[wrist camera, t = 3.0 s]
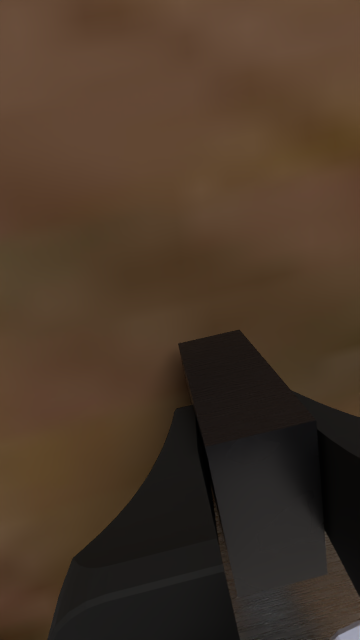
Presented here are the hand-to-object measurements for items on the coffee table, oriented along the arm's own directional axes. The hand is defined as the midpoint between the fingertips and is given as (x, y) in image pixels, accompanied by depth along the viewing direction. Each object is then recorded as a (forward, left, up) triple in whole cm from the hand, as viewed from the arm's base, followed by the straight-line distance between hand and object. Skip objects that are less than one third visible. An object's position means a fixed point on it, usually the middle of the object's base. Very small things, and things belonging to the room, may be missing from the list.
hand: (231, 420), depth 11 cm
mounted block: (0, -2, -2) cm, 3 cm away
